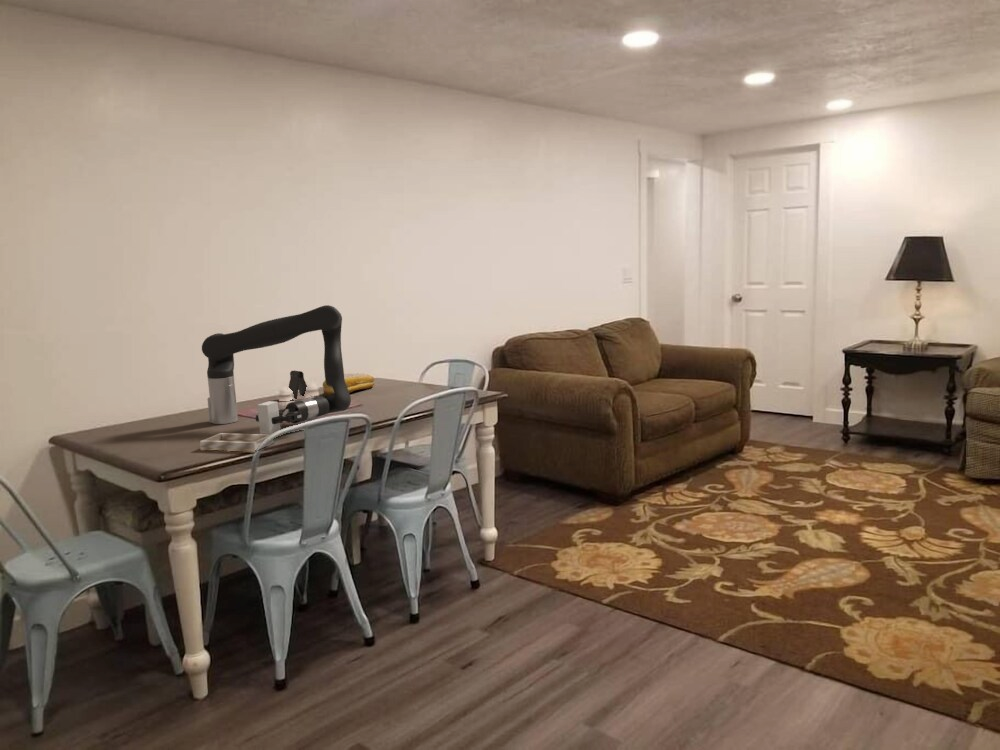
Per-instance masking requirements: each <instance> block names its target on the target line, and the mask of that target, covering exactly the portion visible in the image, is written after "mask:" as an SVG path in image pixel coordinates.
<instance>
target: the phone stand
mask: <svg viewBox="0 0 1000 750" xmlns="http://www.w3.org/2000/svg"><path fill="white" fill-rule="evenodd" d="M289 375H290V377H289V382H288V387H289V388H290V389H291V390H292V391H293V394H294V398H295V399H297V396H300V395H302V396H304V394H305V391H306V387H308V385H307V382H306V381H305V378H304V372H303V371H300V370H295V369H294V370H291V371H290V372H289ZM298 393H299V395H298Z"/></svg>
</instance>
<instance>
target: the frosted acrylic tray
mask: <svg viewBox="0 0 1000 750" xmlns="http://www.w3.org/2000/svg"><path fill="white" fill-rule="evenodd" d="M269 436H270V435H265V434H260V433H234V432H233V433H230V432H227V433H225V432H220V433H217V434H215V435H212V436H210V437H207V438H204V439H201V440H200V441H199V444H200V445H199V447H200V451H205V450H224V451H223V452H230V451H243V452H242V453H256V452H255V450H256V449H257V448H258V446H259V445H260V444H261V443H262V442H263V441H264V440H265V439H266V438H267V437H269ZM225 450H227V451H225Z"/></svg>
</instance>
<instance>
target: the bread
mask: <svg viewBox="0 0 1000 750" xmlns="http://www.w3.org/2000/svg"><path fill="white" fill-rule="evenodd" d="M344 380H345V383H346V385H347V388H348V391H349V393H350V394H351V393H353V392H356V391H359V390H368V389H371V388H373V387H374V386H375V378H374V376H372V375H370V374H365V373H359V372H358V373H351V372H350V373H344ZM322 387H323V390H322V391H323V393H324V395H327V394H331V393H334V390H333V388H332V387H330V386H327V385H326V381H325V380H324V381H323V382H322Z"/></svg>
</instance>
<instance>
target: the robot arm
mask: <svg viewBox="0 0 1000 750" xmlns="http://www.w3.org/2000/svg"><path fill="white" fill-rule="evenodd" d="M342 324H343V317H342V314H341V312H340V311H339V310H338V309H337V308H336V307H335V306H333V305H329V304H328V305H322V306H320V307H317V308H314V309H311V310H308V311H306V312H303V313H298V314H293V315H287V316H284V317H277V318H274V319H273V318H272V319H270V320H266V321H262V322H259V323H256V324H254V325H252V326H251V325H250V326H249V327H246V328H244V329H241V330H238V331H235V332H230V333H222V332H221V333H214V334H211V335H209V336H207V337H206V338H205V339H204V341H203V342H202V344H201V352H202V354H203V355H204V356H205V357H206V358H207V359H208V364H207V365H208V366H207V371H206V374H207V384H208V385H207V386H208V393H209V395H208V396H209V397H208V398H207V406H208V407H207V408H208V417H209V423H210V424H213V425H225V424H231V423H236V422H238V421H239V416H238V405H237V395H236V394H237V393H236V385H235V376H234V374H235V373H234V370H235V369H234V368H235V358H234V354H237V353H240V352H244V351H250V350H256V349H261V348H262V349H263V348H266V347H267V348H268V347H271V346H277V345H279V344H284V343H286V342H289V341H291V340H293V339H296V338H297V337H298V336H299V337H300V336H302V335H303V334H306V333H311V332H315V331H321V333H322V338H323V342H324V343H323V344H324V345H323V346H324V348H323V349H324V355H323V369H324V378H325V379H324V381H326V385H327V386H330V387H332V388H333V390H334V393H331V394H324V395H320V396H316V397H311V398H306V399H301V400H295V401H291V402H289V403H287V404H286V406H285V408H280V409H279V408H278V410H279V416H277V417H273V418H272V424H277V423H280V424H281V423H288V424H290V423H292V424H298V423H303V422H305V421H310V420H312V419H314V418H317V417H322V416H325V415H327V414H330V413H331V414H332V413H336V412H342V411H346V410H348V409H349V408H350V406H351V402H352V399H351V393H349V391H348V388H347V385H346V383H345V380H344V374H345V371H344V362H343V355H342V354H343V353H342V346H341V345H342V343H341V342H342V340H341V339H342ZM255 422H258V423H259V417H258V414H257V415H255Z"/></svg>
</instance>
